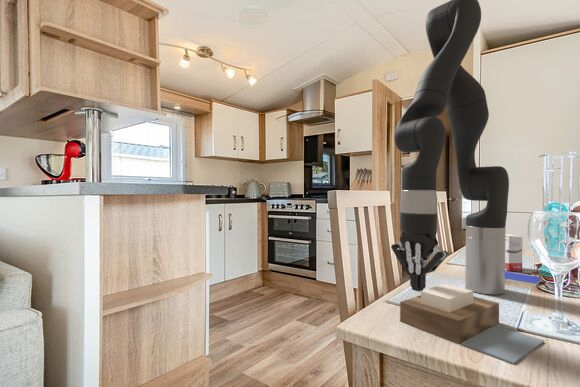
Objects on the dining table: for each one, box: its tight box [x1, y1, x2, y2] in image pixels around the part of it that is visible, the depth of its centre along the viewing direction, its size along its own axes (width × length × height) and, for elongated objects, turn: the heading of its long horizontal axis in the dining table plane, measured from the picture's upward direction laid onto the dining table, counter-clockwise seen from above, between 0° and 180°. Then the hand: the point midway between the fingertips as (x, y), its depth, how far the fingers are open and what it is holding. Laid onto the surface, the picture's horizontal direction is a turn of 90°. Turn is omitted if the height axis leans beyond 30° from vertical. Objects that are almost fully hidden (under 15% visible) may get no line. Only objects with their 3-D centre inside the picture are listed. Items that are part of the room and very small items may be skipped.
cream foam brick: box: [420, 283, 474, 312], centre depth 67 cm, size 9×6×2 cm, turn 126°
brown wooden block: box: [399, 294, 500, 344], centre depth 67 cm, size 16×12×4 cm
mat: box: [461, 324, 545, 365], centre depth 58 cm, size 13×8×1 cm, turn 126°
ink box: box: [505, 233, 523, 272], centre depth 114 cm, size 9×5×12 cm, turn 179°
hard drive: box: [505, 270, 541, 287], centre depth 101 cm, size 2×8×12 cm
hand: (417, 290), depth 72 cm, fingers closed
